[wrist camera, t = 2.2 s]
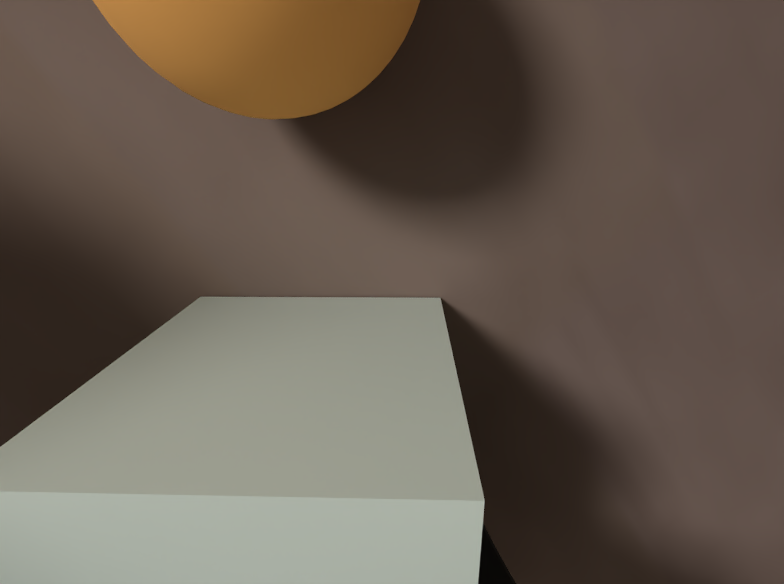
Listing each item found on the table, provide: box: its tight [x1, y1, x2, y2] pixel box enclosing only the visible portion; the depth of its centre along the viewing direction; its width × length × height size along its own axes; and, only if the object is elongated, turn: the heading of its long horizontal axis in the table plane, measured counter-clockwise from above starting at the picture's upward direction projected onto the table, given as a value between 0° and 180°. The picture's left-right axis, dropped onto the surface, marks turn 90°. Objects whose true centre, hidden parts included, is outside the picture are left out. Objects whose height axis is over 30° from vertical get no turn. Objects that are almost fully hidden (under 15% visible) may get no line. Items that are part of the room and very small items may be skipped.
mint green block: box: [0, 297, 485, 584], centre depth 9 cm, size 10×6×6 cm, turn 0°
